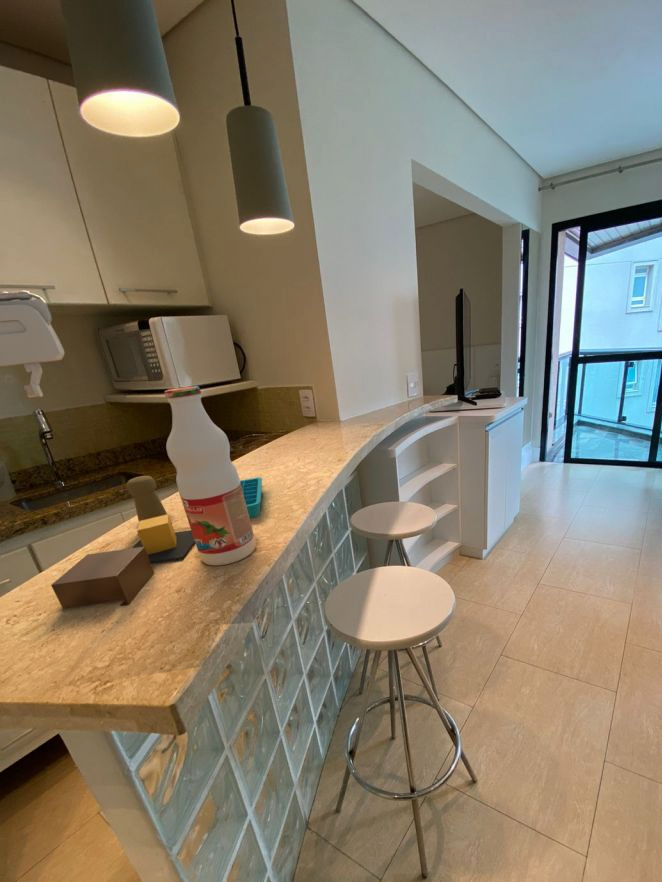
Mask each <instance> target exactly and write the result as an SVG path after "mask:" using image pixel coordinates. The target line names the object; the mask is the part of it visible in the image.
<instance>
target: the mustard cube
mask: <svg viewBox="0 0 662 882" xmlns="http://www.w3.org/2000/svg"><path fill="white" fill-rule="evenodd" d="M171 522H172V519H171V518H170V514H168V513H167V515H163V516H159V517H154V518H150V519H146V520H142V521H138V523H137V529H136V532H137V535H138V537H139V540H141V543H142V545H143V547H145V549H146V552H147V555H150V554H153V553H157V552H161V551H164V550H168V549H172V548H176V535H175V532H176V531H175V529H174V526H173V523H171Z"/></svg>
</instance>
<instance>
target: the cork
mask: <svg viewBox="0 0 662 882" xmlns="http://www.w3.org/2000/svg"><path fill="white" fill-rule="evenodd" d="M156 488H157V483H156V480H155V479H154V477H152V476H150V475H141V476H136V477H133V478H131V479H129V480H128V481H127V483H126V489H127V491H128V493H129V494H130V495H131V496H133V501H134V507H135V511H136V516H137V520H138V522H139V521H142V520H146V519H150V518H154V517H159V516H163V515H167V514H168V513H167V510H166V509H165V507H164V505H163V502H162V501H161V499H160V497H159V495H158V494H157V491H156ZM171 523H172V521H171ZM172 524H173V523H172Z"/></svg>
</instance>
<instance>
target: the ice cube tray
mask: <svg viewBox="0 0 662 882" xmlns="http://www.w3.org/2000/svg"><path fill="white" fill-rule="evenodd" d="M240 483H241V487H242V491H243V495H244V499H245V503H246V506H247V510H248V514H249V518H250V519H252V518H257V517H259V516H260V514H261V502H262V488H263V487H262V486H263V478H262V477H259V476H258V477H252V478H247V479H240Z"/></svg>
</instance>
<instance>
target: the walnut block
mask: <svg viewBox="0 0 662 882" xmlns="http://www.w3.org/2000/svg"><path fill="white" fill-rule="evenodd" d="M154 574H155V571H154V567H153V564H151V562H150V560H149V557H148V555H147V552H146V549H145V547H138V548H132V547H131V548H125V549H117V550H109V551H102V552H94V553H88V554H86V555H85V556H84V557H82V558H81V559H80V560H79V561H78V562H76V563H75V564H74V565H73V566H72V567H71V568H70V569H68V570H67V571H66V572H65V573H63V574H62V575H61V576H60V577H59V578H57V579H56V580H55V581H54V582H52V583H51V584H50V586H51V588H52V590H53V592H54V593H55V596H56V598H57V600H58V602H59V604H60V606H61V608H62V609H63V610H65V609H71V608H77V607H78V608H79V607H85V606H91V605H92V606H93V605H99V604H107V603H113V602H121V601H122V602H121V603H120V604H119V607H124V606H129V605H130V604H131V603H132V602H133V600H134V599H135V598H136V597H137V595H138V594H139V593H140V592H141V590H142V589H143V588H144V587H145V585H146V584H147V583H148V582H149V580H151V579H152V577H153V576H154Z"/></svg>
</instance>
